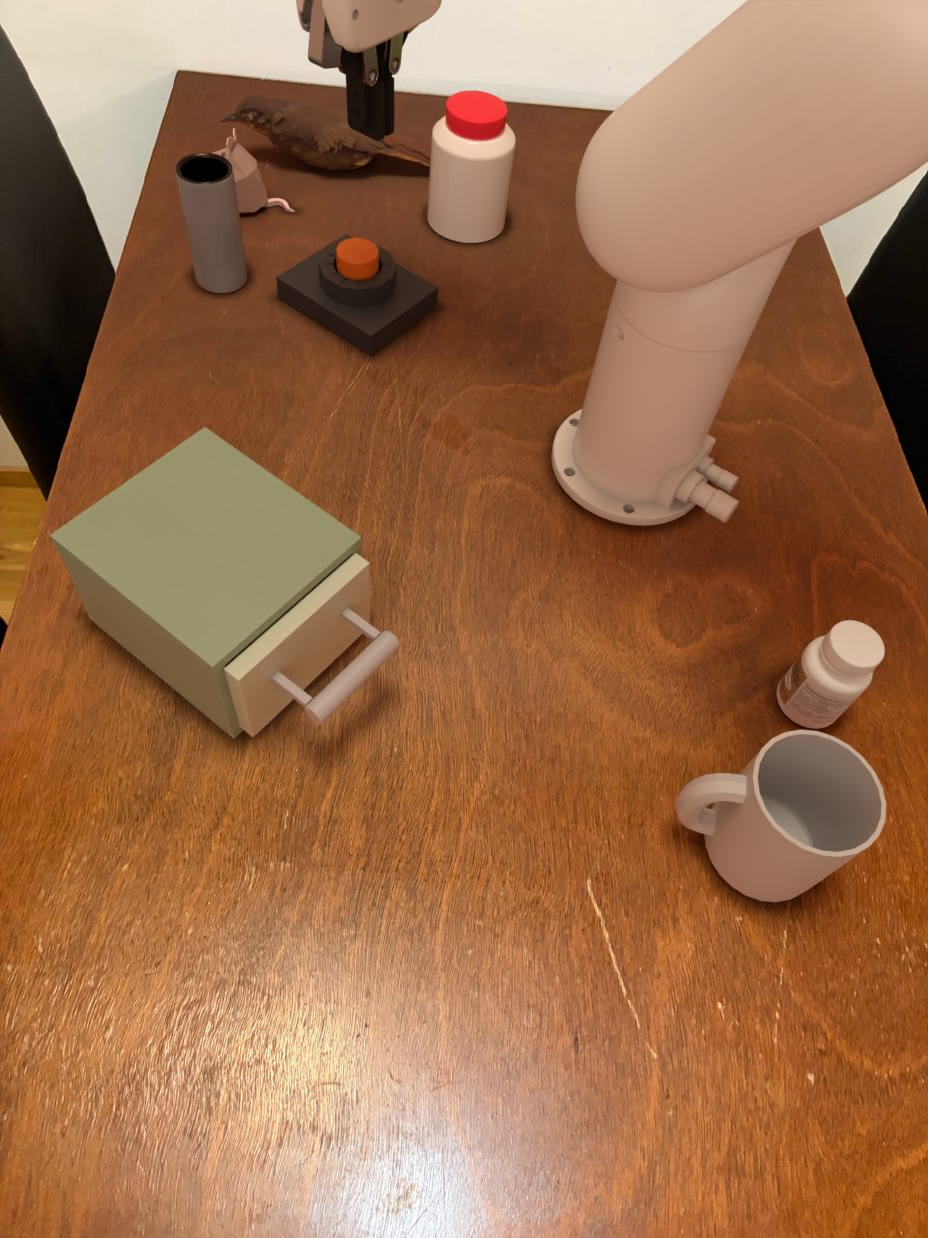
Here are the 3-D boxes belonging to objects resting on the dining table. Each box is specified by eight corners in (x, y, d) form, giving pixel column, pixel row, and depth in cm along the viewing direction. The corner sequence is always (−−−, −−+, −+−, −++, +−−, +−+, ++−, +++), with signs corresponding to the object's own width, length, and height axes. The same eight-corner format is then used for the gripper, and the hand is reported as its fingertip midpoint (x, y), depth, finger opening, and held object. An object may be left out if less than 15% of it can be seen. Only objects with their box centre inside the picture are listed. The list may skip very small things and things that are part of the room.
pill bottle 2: (789, 662, 63) (837, 601, 56) (847, 696, 62) (903, 637, 55) (764, 706, 61) (811, 647, 54) (823, 742, 59) (878, 687, 53)
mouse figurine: (287, 227, 85) (281, 158, 79) (206, 212, 85) (194, 142, 80) (302, 196, 88) (297, 128, 82) (223, 182, 88) (213, 113, 82)
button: (387, 268, 77) (387, 250, 76) (359, 286, 75) (359, 268, 74) (356, 250, 78) (355, 232, 77) (328, 268, 76) (327, 249, 75)
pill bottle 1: (518, 216, 89) (535, 104, 80) (478, 253, 85) (491, 139, 76) (454, 187, 91) (463, 74, 82) (411, 222, 87) (416, 107, 78)
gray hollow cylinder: (186, 284, 79) (163, 172, 71) (212, 256, 82) (194, 145, 73) (231, 299, 79) (214, 189, 70) (256, 271, 81) (243, 161, 72)
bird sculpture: (459, 211, 93) (471, 165, 89) (212, 157, 87) (213, 106, 83) (457, 177, 97) (468, 131, 93) (220, 123, 91) (221, 72, 87)
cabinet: (363, 618, 62) (361, 536, 54) (234, 739, 56) (212, 667, 48) (224, 515, 65) (204, 426, 58) (90, 619, 60) (49, 534, 52)
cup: (818, 916, 53) (891, 870, 45) (653, 881, 53) (699, 829, 46) (814, 803, 57) (881, 744, 49) (660, 771, 57) (703, 707, 50)
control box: (437, 307, 80) (440, 269, 77) (371, 356, 76) (371, 317, 73) (346, 254, 83) (345, 214, 80) (278, 298, 79) (274, 258, 76)
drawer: (417, 662, 59) (423, 600, 53) (302, 779, 54) (294, 725, 48) (238, 529, 64) (224, 458, 58) (117, 625, 59) (87, 559, 52)
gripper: (321, -149, 46) (340, 190, 61) (494, -203, 53) (472, 113, 68) (220, -186, 48) (262, 149, 64) (398, -234, 56) (398, 78, 71)
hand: (371, 130), depth 66 cm, fingers closed
